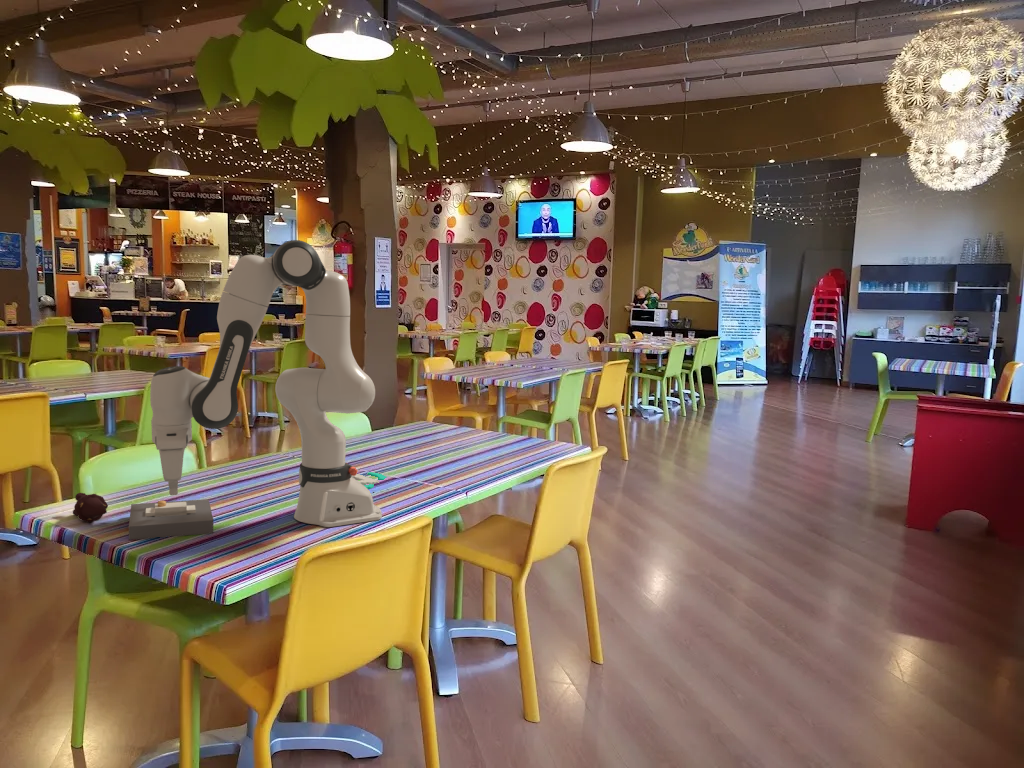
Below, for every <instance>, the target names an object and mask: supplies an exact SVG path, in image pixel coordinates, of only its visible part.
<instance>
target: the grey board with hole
mask: <svg viewBox="0 0 1024 768" xmlns="http://www.w3.org/2000/svg"><path fill="white" fill-rule="evenodd" d="M175 502H186V504H187V506H189V505H195V510H196V513H187V515H174V516H160V517H155V516H146V508H155V504H158V502H145V503H131V505H130V512H129V514H130V515H129V521H128V541H131V539H136V540H144V539H147V538H148V539H156V538H155V537H160V538H169V537H170V536H172V537H181V536H194V535H195V536H196V535H203V534H204V535H205V534H206V535H207V534H214V517H213V512H212V509H211V503H210V499H206V498H205V499H191V500H176V501H166V503H175ZM166 536H168V537H166ZM148 539H147V540H148Z"/></svg>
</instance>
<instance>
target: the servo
mask: <svg viewBox="0 0 1024 768" xmlns="http://www.w3.org/2000/svg"><path fill="white" fill-rule="evenodd" d="M166 502H167V501H166V500H157V503H158V504H155V508H146V516H155V517H160V516H174V515H187V513H196V510H195V505H189V506H187V504H186V502H175V503H166Z"/></svg>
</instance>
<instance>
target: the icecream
mask: <svg viewBox="0 0 1024 768" xmlns="http://www.w3.org/2000/svg"><path fill="white" fill-rule="evenodd" d="M74 498H75V499H74V500H76V502H75V504H74V509H73V511H72V514H73V515H74V516H75V517H78V519H79V520H80V521H82V522H87V523H91V522H95V521H96V522H97V521H99V520H101V519H102V517H103V516H104V515H105V514H107V513H108V511H107V509H108V506H109V504H108V503H107V502H106V500H105V498H104V497H103V496H101V495H98V494H97V493H91V494H86V493H85V492H78V493H76V495H75V497H74Z"/></svg>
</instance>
